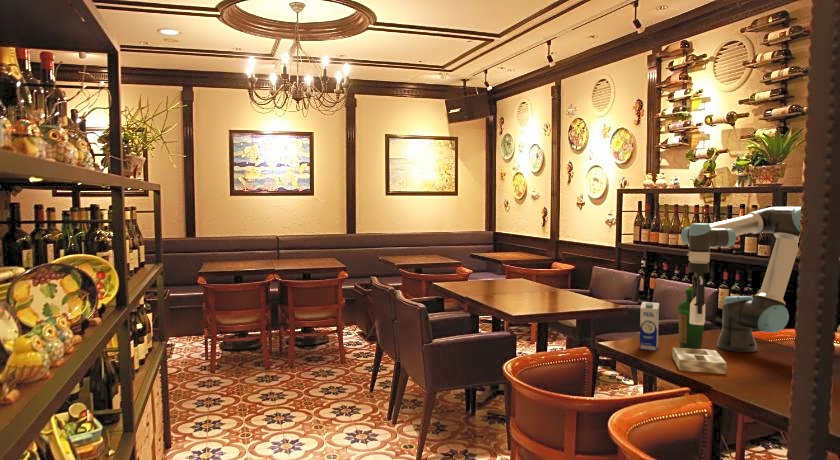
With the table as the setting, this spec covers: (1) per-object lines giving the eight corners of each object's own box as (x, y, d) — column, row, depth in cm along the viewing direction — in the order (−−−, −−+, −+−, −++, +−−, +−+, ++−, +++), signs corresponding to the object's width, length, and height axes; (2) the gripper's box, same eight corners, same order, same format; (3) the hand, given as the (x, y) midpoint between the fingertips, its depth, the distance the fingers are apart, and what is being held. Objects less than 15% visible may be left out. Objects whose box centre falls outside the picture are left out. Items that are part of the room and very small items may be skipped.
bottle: (682, 346, 263) (684, 283, 262) (707, 350, 256) (709, 285, 255) (672, 350, 256) (674, 285, 255) (698, 354, 248) (700, 288, 247)
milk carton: (658, 347, 260) (659, 302, 259) (656, 351, 254) (657, 304, 253) (641, 345, 263) (642, 301, 262) (639, 349, 257) (640, 303, 256)
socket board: (715, 360, 240) (715, 350, 240) (726, 374, 220) (726, 363, 220) (672, 356, 244) (672, 347, 244) (679, 370, 224) (679, 359, 224)
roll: (686, 292, 238) (699, 292, 239) (686, 322, 239) (698, 322, 239) (696, 295, 232) (709, 294, 233) (695, 325, 233) (708, 325, 234)
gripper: (684, 259, 245) (683, 315, 246) (692, 264, 227) (691, 324, 228) (704, 260, 243) (703, 316, 244) (714, 264, 225) (712, 325, 226)
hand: (697, 320), depth 236 cm, fingers closed on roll, 6 cm apart
